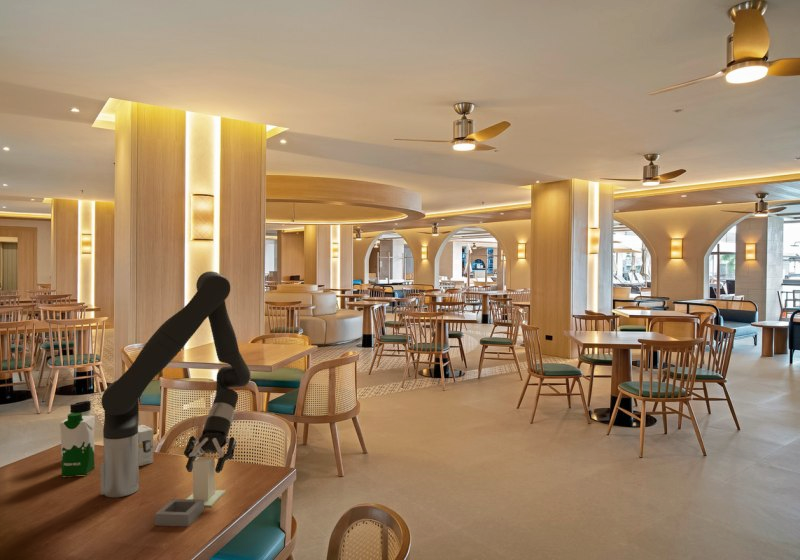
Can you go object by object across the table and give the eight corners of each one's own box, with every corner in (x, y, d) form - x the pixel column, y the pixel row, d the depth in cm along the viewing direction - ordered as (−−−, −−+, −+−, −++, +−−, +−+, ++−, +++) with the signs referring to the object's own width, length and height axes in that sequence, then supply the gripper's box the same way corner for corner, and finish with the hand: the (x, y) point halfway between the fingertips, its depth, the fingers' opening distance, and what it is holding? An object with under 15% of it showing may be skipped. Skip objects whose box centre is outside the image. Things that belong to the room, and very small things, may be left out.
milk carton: (57, 479, 167) (56, 416, 167) (71, 468, 176) (70, 409, 176) (86, 477, 168) (85, 415, 168) (98, 467, 177) (98, 408, 177)
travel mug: (82, 460, 183) (81, 404, 183) (66, 459, 185) (65, 403, 184) (96, 454, 189) (95, 399, 189) (80, 453, 191) (80, 398, 190)
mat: (180, 505, 148) (180, 504, 148) (196, 490, 158) (196, 489, 158) (211, 506, 147) (211, 505, 147) (225, 491, 157) (225, 490, 157)
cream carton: (193, 500, 151) (192, 462, 150) (200, 493, 155) (199, 456, 155) (208, 500, 150) (207, 462, 150) (214, 493, 155) (214, 456, 155)
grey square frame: (155, 525, 137) (155, 513, 137) (172, 509, 146) (172, 498, 146) (188, 526, 136) (188, 515, 136) (203, 510, 145) (203, 499, 145)
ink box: (128, 461, 183) (127, 427, 183) (143, 457, 187) (142, 424, 187) (139, 467, 177) (138, 432, 177) (154, 462, 181) (153, 428, 181)
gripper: (193, 414, 161) (174, 465, 150) (238, 415, 160) (223, 466, 149) (201, 426, 167) (183, 476, 155) (244, 427, 166) (230, 477, 154)
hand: (203, 471), depth 152 cm, fingers open, 8 cm apart
